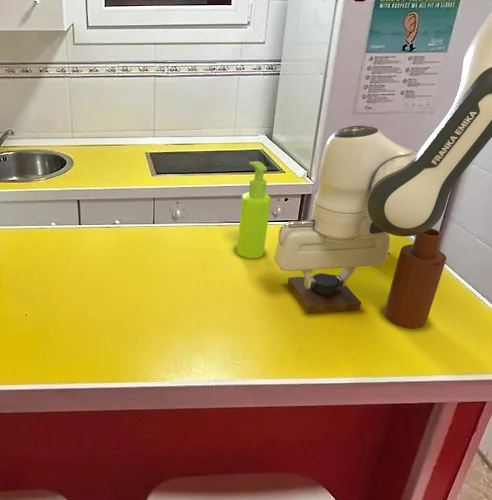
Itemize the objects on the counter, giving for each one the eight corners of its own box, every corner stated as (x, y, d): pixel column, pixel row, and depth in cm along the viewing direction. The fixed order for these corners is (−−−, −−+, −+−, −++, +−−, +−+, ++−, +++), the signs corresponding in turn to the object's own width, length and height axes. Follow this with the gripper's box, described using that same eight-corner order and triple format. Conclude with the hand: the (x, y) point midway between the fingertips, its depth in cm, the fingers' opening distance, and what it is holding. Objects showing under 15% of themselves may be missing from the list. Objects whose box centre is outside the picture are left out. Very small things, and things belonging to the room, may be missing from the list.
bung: (328, 290, 101) (331, 272, 99) (338, 303, 97) (342, 285, 95) (305, 291, 101) (308, 273, 99) (315, 304, 97) (318, 286, 95)
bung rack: (335, 282, 104) (336, 274, 103) (359, 310, 95) (361, 302, 94) (287, 285, 103) (288, 277, 102) (307, 314, 94) (309, 305, 93)
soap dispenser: (256, 243, 119) (266, 158, 110) (267, 257, 113) (279, 169, 104) (231, 244, 118) (239, 160, 109) (241, 259, 112) (251, 170, 103)
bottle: (411, 305, 96) (436, 222, 89) (434, 327, 91) (462, 240, 83) (377, 307, 96) (398, 224, 88) (397, 330, 90) (422, 242, 82)
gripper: (287, 229, 87) (277, 298, 94) (401, 223, 90) (383, 291, 96) (274, 214, 93) (265, 280, 99) (381, 209, 95) (366, 274, 102)
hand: (324, 286), depth 98 cm, fingers closed on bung, 4 cm apart
